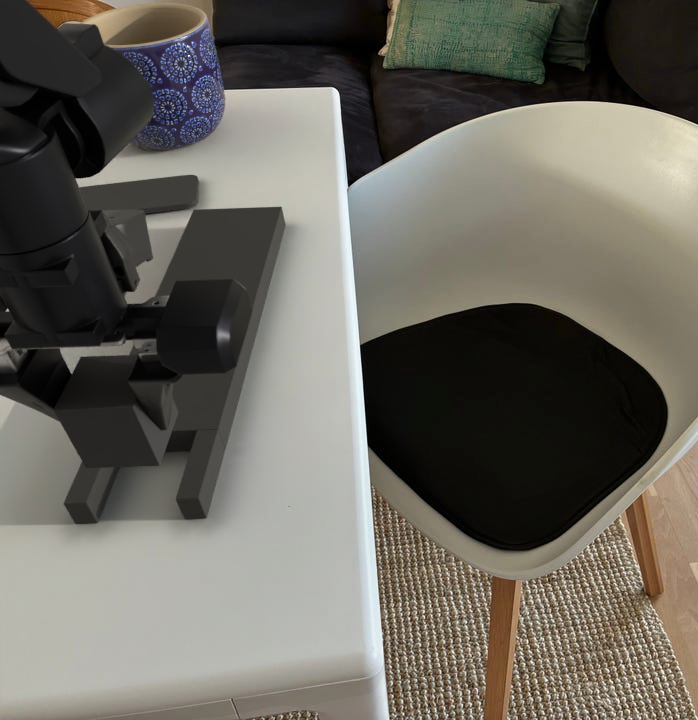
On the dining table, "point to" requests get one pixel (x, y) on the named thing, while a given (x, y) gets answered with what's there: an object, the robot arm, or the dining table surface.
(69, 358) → the dining table surface
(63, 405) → the pad block
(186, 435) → the base pad
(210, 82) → the planter
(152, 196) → the phone
